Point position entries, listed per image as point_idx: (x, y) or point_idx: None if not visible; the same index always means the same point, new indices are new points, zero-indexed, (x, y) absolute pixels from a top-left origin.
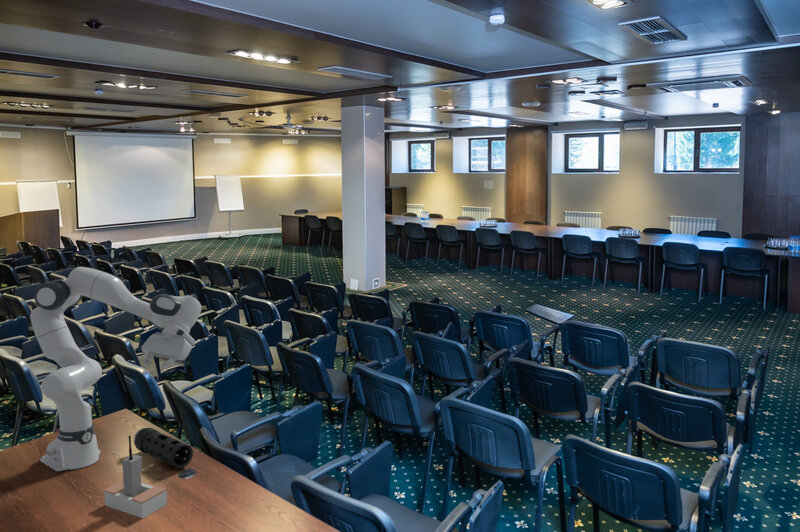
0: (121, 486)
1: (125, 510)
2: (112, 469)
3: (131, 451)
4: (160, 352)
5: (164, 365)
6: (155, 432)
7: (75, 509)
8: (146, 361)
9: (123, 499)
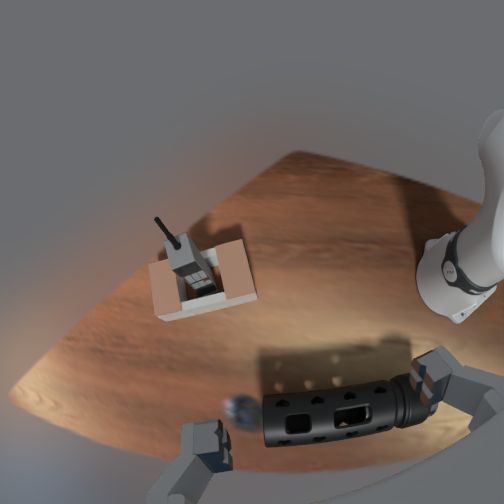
0: (229, 265)
1: None
2: (377, 315)
3: (168, 239)
4: (343, 501)
5: (190, 430)
6: (391, 411)
7: (270, 216)
8: (430, 365)
9: None
